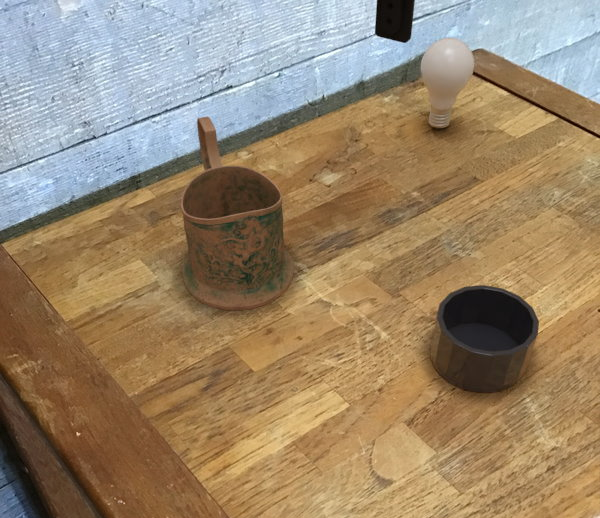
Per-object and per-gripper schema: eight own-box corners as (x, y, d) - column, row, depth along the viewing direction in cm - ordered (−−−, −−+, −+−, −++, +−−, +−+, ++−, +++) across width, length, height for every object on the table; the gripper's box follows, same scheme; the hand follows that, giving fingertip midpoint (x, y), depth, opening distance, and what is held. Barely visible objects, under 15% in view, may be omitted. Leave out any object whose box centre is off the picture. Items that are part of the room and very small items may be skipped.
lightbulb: (423, 109, 97) (434, 24, 89) (469, 120, 96) (485, 34, 87) (406, 133, 94) (416, 46, 85) (454, 144, 92) (468, 57, 83)
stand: (509, 320, 72) (520, 281, 68) (538, 388, 66) (552, 349, 63) (421, 328, 71) (427, 289, 68) (443, 397, 66) (451, 359, 62)
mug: (260, 197, 85) (255, 99, 76) (308, 295, 74) (308, 194, 65) (162, 217, 83) (144, 118, 74) (196, 321, 72) (180, 220, 63)
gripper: (441, -197, 47) (413, 67, 60) (532, -248, 57) (491, -10, 70) (338, -210, 50) (333, 46, 63) (442, -256, 59) (418, -26, 72)
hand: (416, 16), depth 66 cm, fingers open, 9 cm apart
